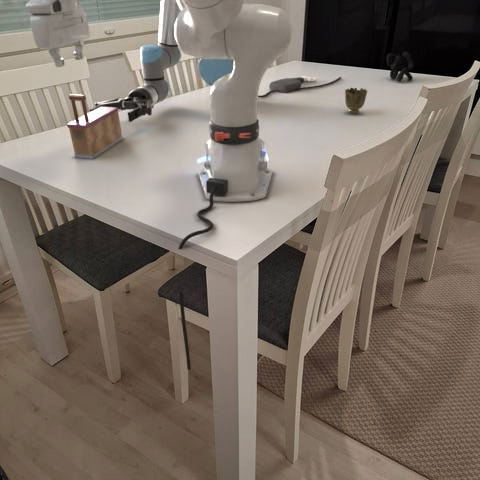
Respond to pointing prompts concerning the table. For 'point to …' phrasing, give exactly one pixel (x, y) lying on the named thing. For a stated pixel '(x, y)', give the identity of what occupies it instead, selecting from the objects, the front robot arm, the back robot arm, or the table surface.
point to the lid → (90, 117)
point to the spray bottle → (289, 83)
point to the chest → (96, 137)
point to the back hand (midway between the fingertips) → (109, 115)
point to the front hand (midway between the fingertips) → (70, 62)
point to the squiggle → (399, 66)
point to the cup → (355, 99)
